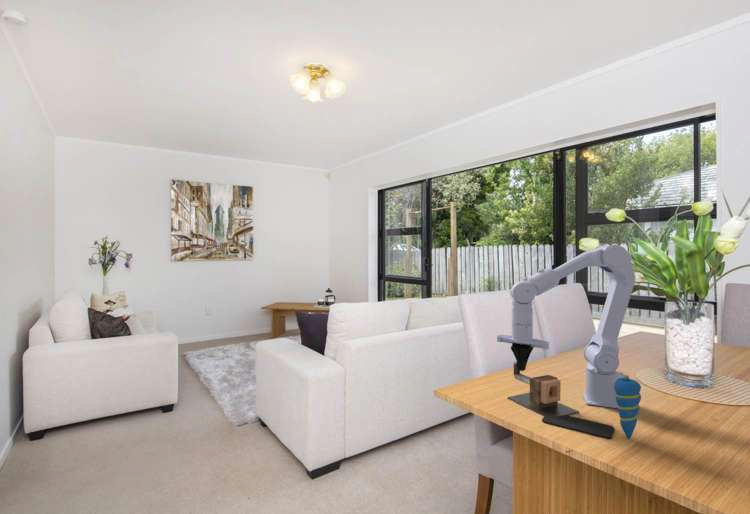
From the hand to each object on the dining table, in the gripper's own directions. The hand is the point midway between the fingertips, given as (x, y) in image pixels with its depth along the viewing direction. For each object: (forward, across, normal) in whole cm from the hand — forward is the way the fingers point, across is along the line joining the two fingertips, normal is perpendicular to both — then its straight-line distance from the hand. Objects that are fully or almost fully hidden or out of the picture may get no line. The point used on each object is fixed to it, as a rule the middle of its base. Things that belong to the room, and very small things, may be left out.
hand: (522, 369), depth 113 cm
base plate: (+8, -6, +3) cm, 11 cm away
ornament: (+8, -28, +10) cm, 30 cm away
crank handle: (+3, -3, +1) cm, 5 cm away
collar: (+6, -9, +4) cm, 12 cm away
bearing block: (+8, -7, +3) cm, 11 cm away
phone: (+8, -17, +10) cm, 21 cm away
